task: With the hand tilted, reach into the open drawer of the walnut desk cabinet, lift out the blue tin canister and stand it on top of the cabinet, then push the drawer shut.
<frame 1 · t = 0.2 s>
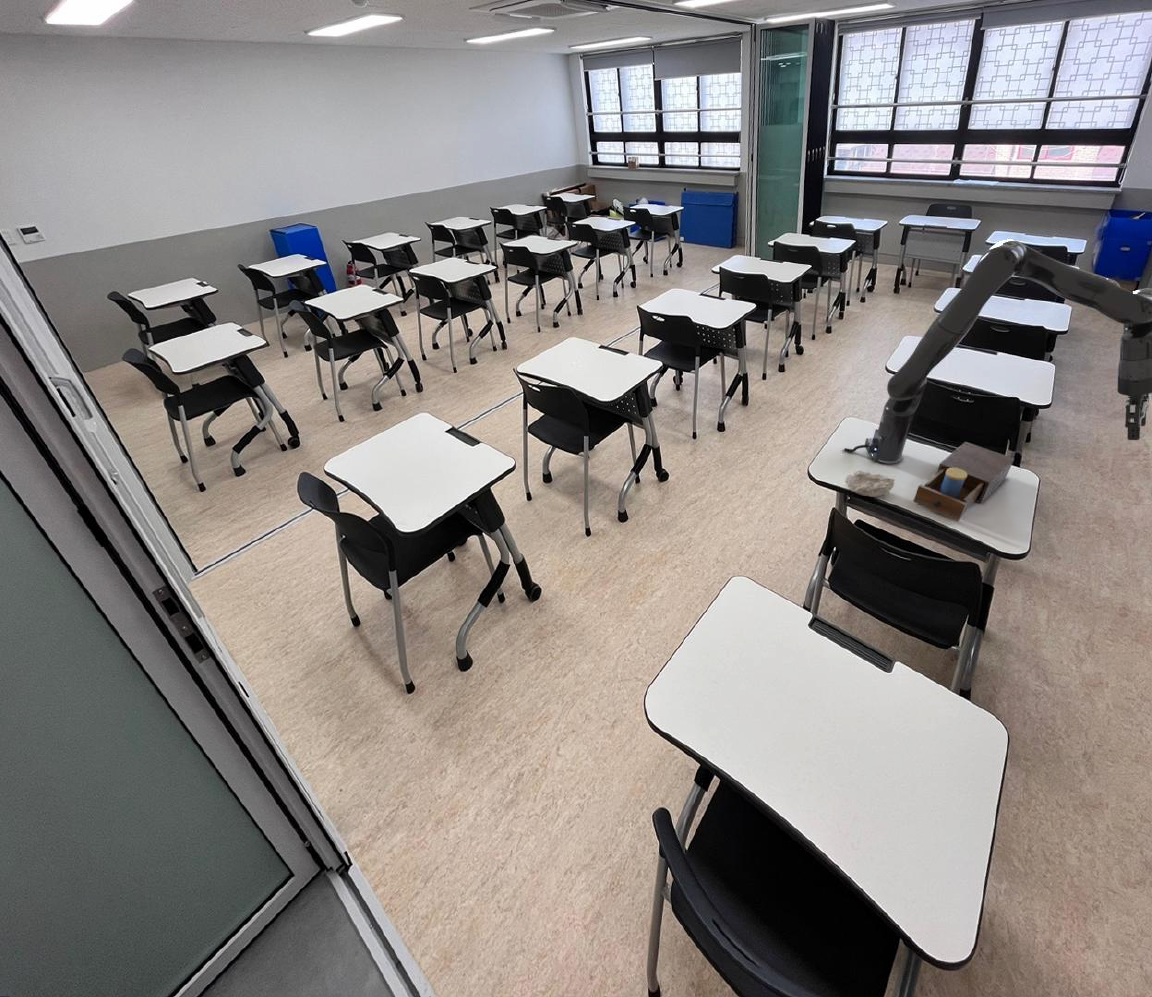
hand: (1136, 432, 148), 31 cm above the table, tool tilted 20°, fingers open, 8 cm apart
drawer: (950, 492, 177), point 4 cm above the table, slide at 13.0 cm, touching tin
tin: (946, 498, 178), point 2 cm above the table, touching drawer
cabinet: (968, 481, 186), on the table
stone: (865, 492, 187), on the table
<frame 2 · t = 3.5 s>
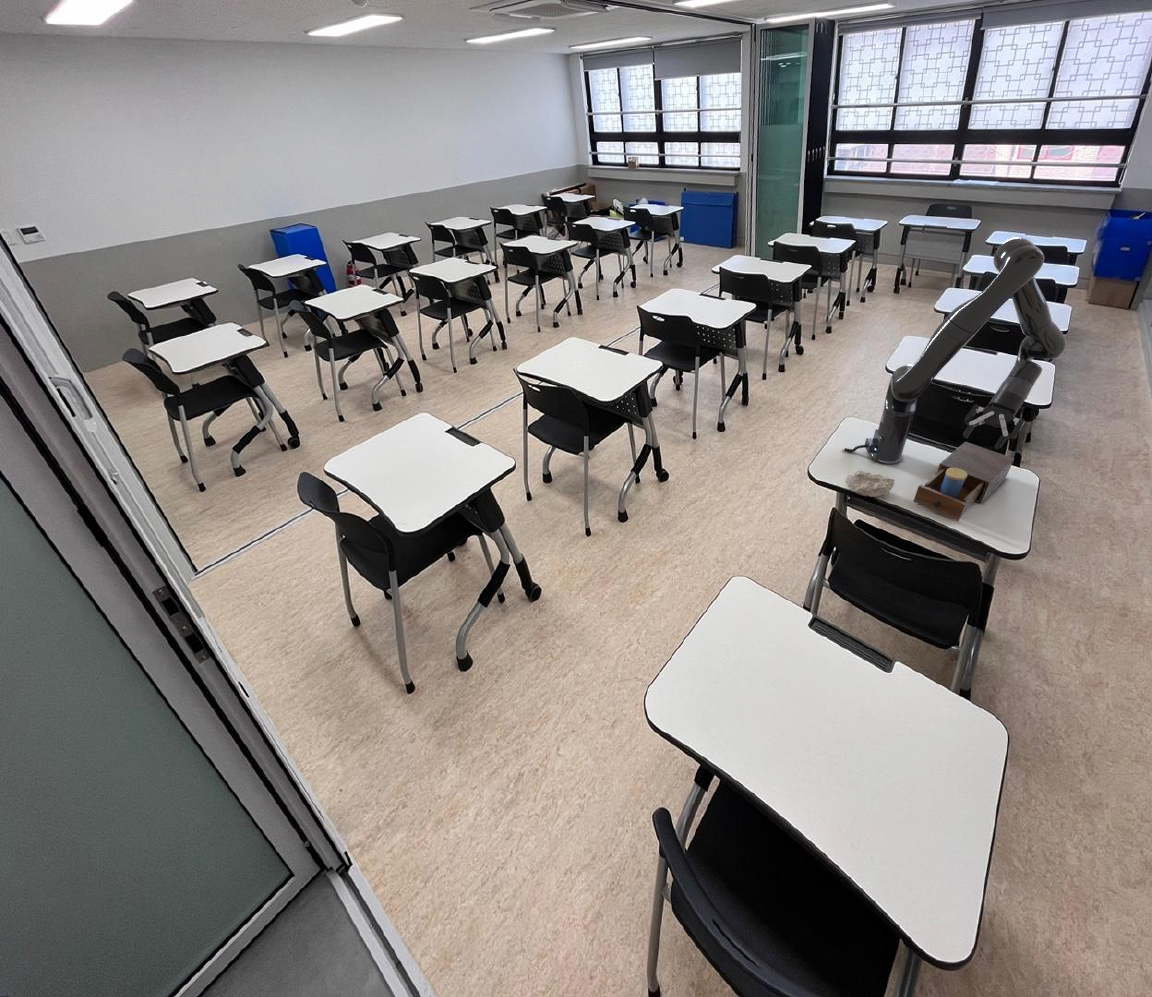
hand: (980, 442, 173), 17 cm above the table, tool tilted 45°, fingers open, 8 cm apart
nothing on the table moved.
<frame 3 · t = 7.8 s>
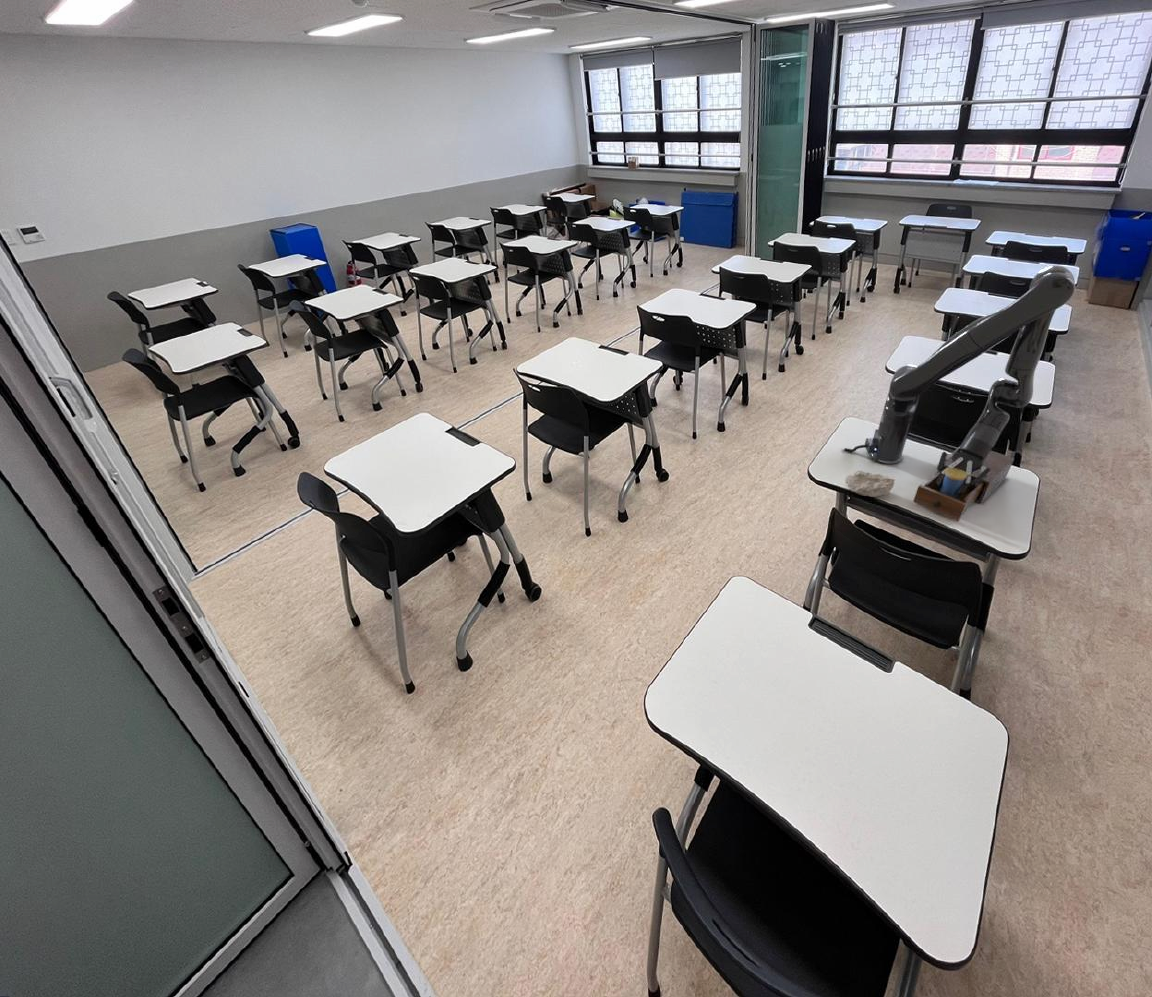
hand: (948, 490, 174), 6 cm above the table, tool tilted 45°, fingers closed on tin, 5 cm apart
tin: (946, 498, 178), point 2 cm above the table, touching drawer, gripper
everything else where it was.
when the fingers open (12 cm above the table, at t = 15.2 s): tin stays where it is, resting on cabinet.
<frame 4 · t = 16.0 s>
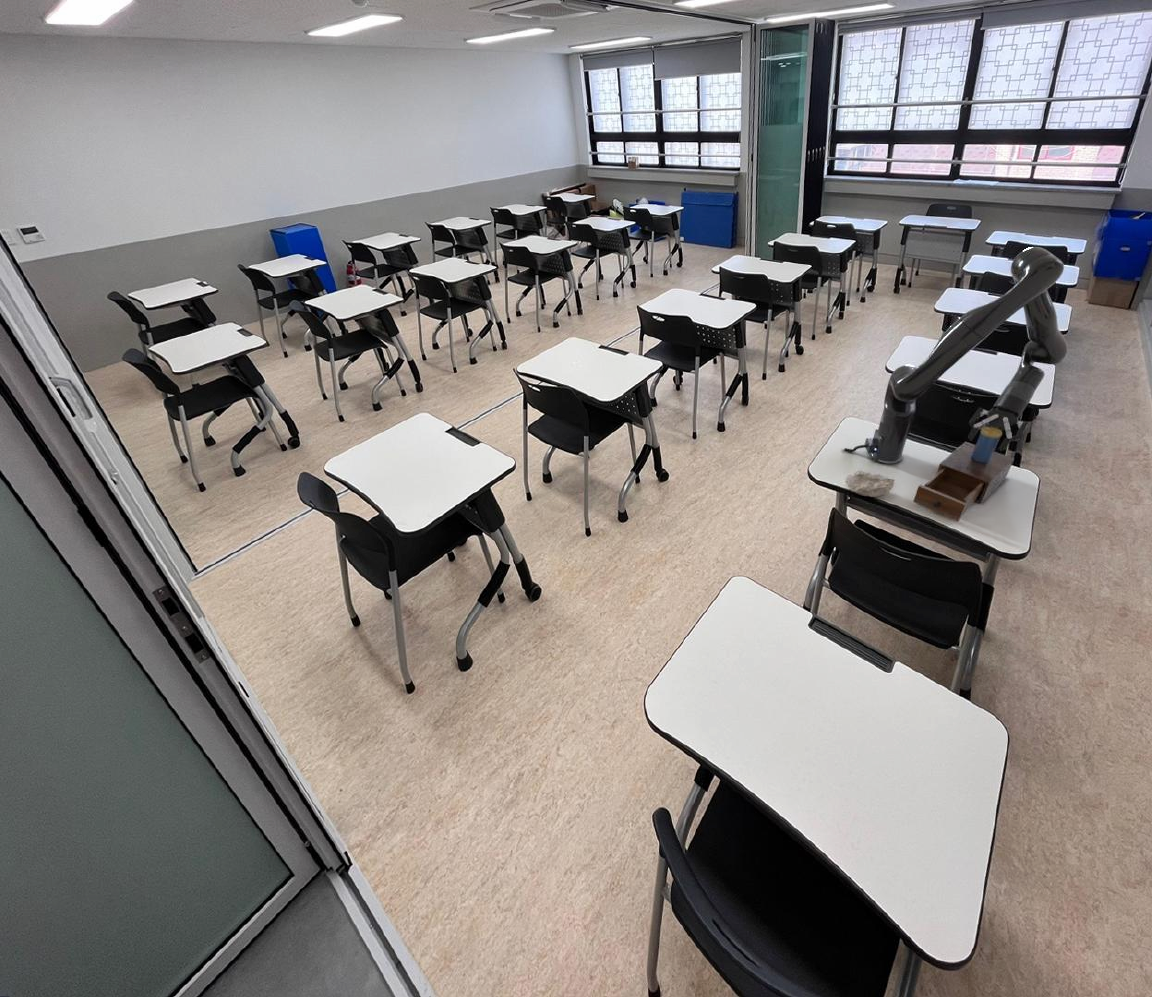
hand: (984, 444, 178), 14 cm above the table, tool tilted 45°, fingers open, 8 cm apart
drawer: (950, 492, 177), point 4 cm above the table, slide at 13.1 cm
tin: (980, 457, 182), point 8 cm above the table, touching cabinet
everything else where it was.
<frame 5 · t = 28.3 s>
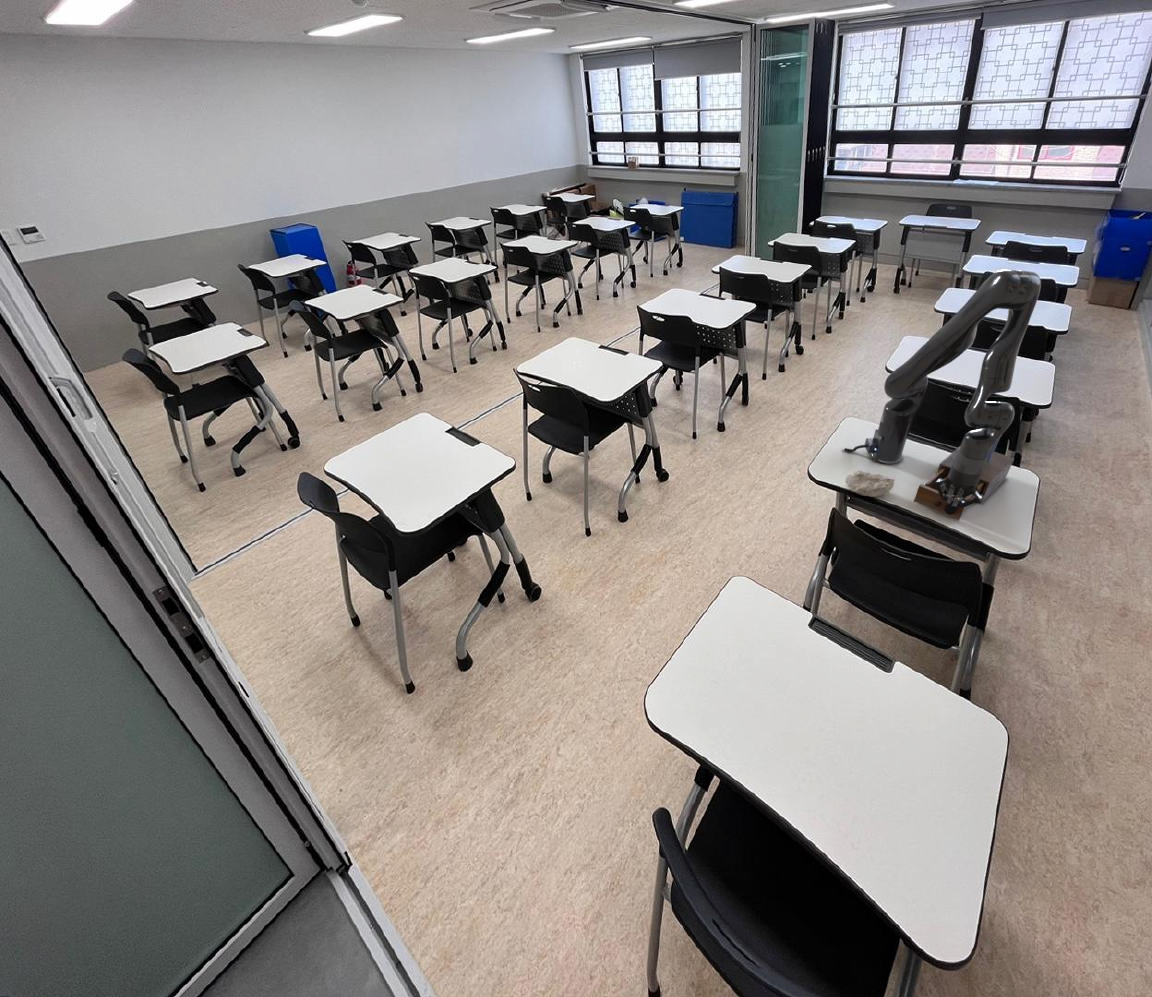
hand: (949, 513, 171), 3 cm above the table, tool pointing down, fingers closed
drawer: (950, 491, 177), point 4 cm above the table, slide at 12.7 cm, touching gripper
everything else where it was.
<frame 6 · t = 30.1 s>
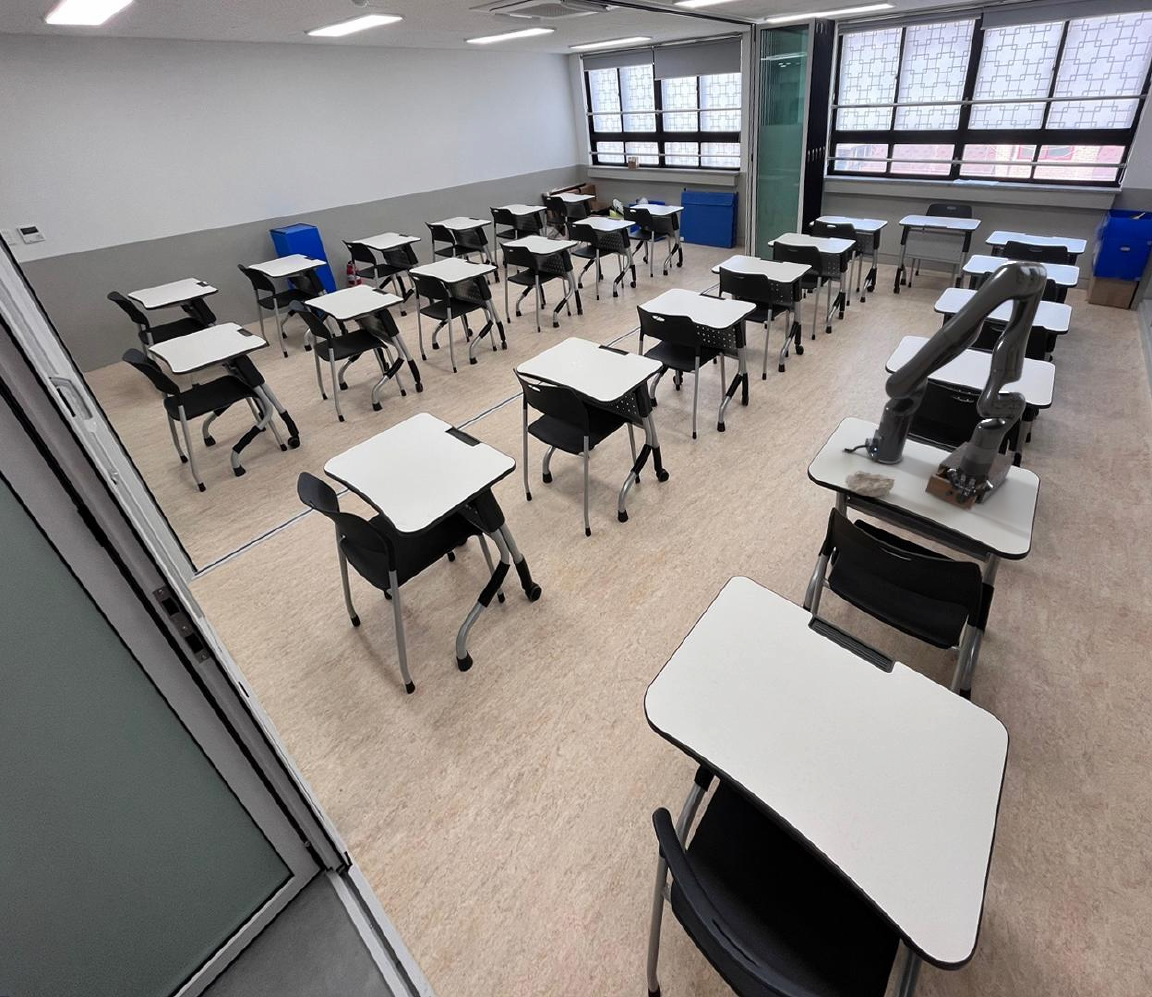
hand: (960, 502, 174), 3 cm above the table, tool pointing down, fingers closed
drawer: (961, 482, 180), point 4 cm above the table, slide at 5.6 cm, touching gripper
everything else where it was.
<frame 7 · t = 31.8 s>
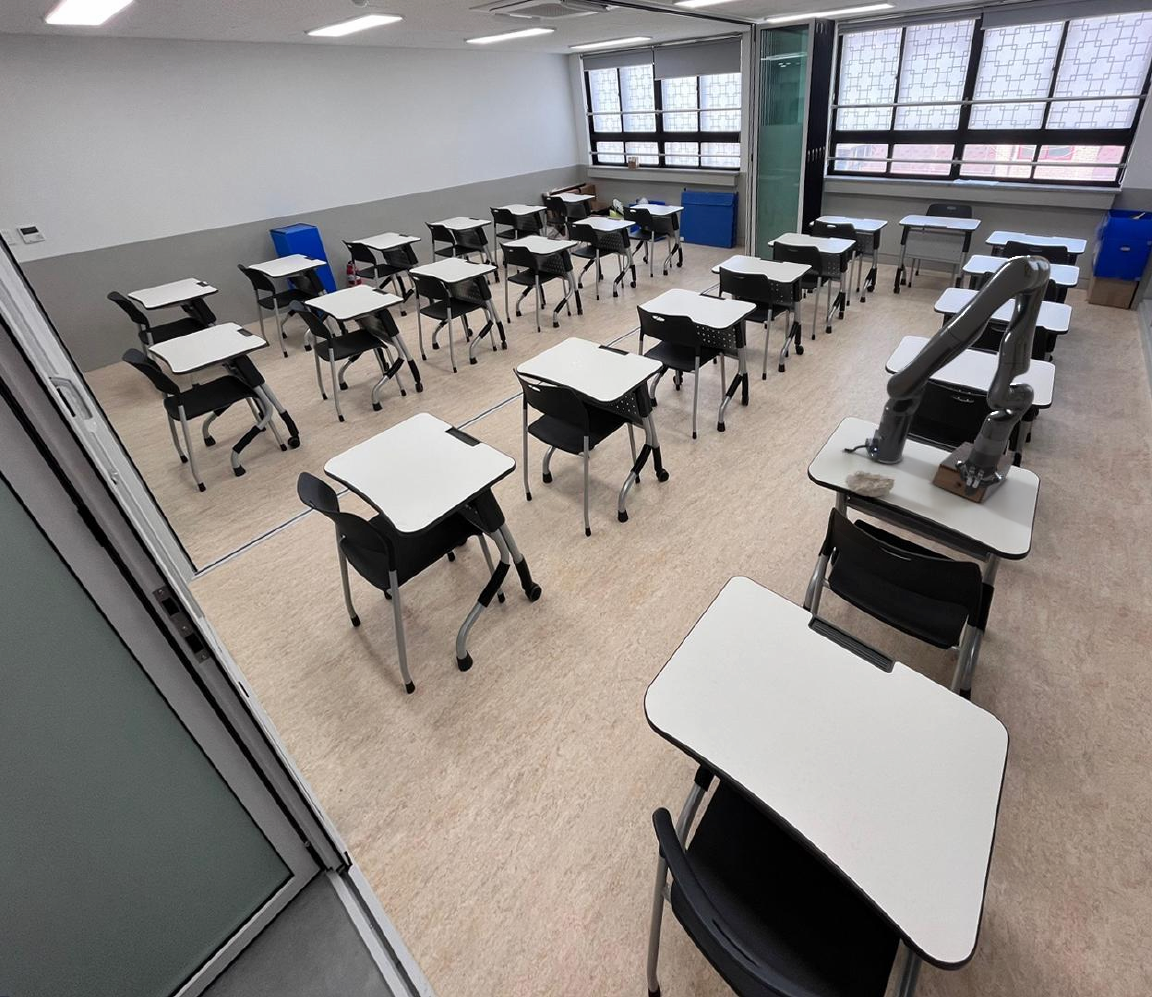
hand: (968, 494, 177), 3 cm above the table, tool pointing down, fingers closed
drawer: (969, 474, 183), point 4 cm above the table, slide at 0.0 cm, touching cabinet, gripper
everything else where it was.
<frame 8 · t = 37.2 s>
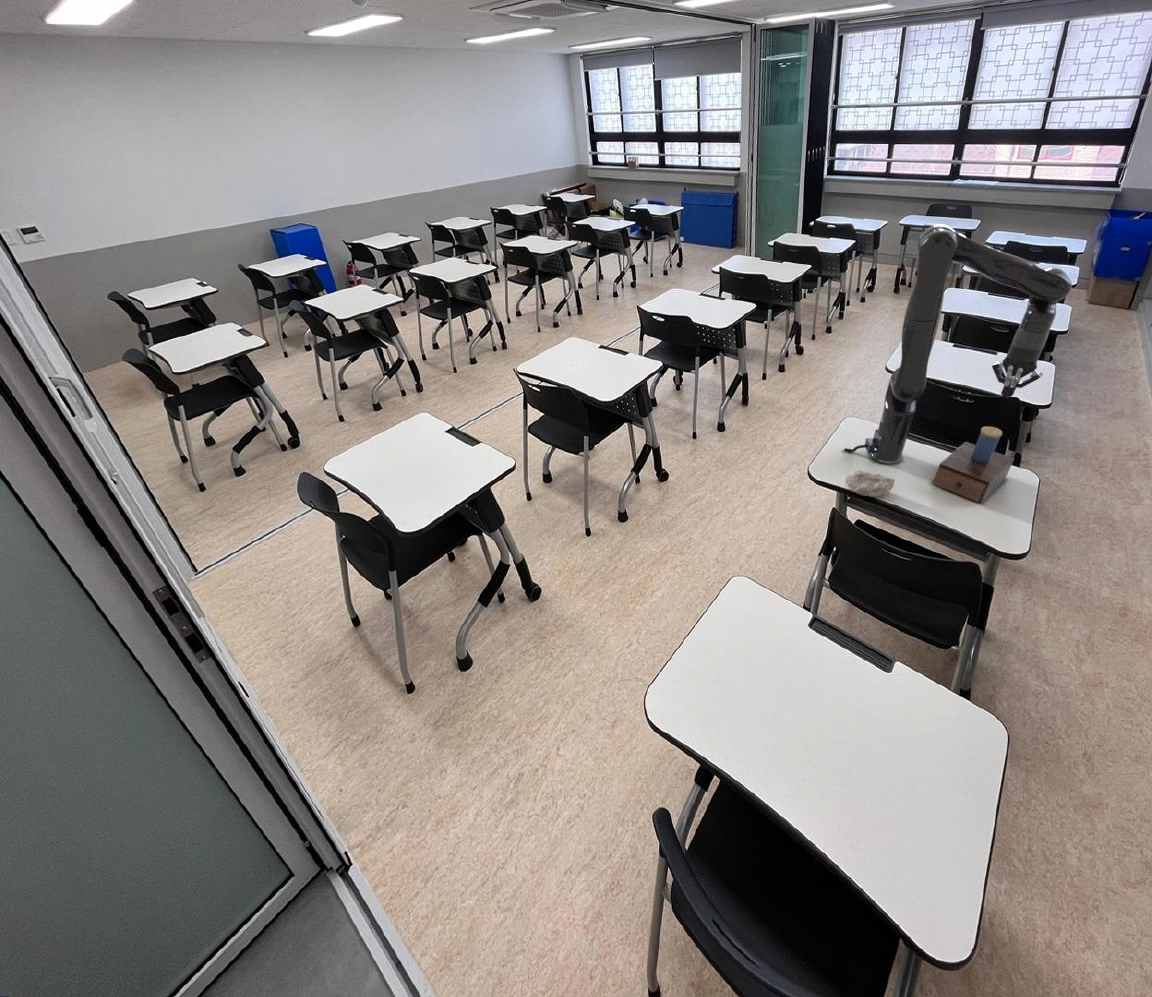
hand: (1005, 396, 174), 27 cm above the table, tool pointing down, fingers closed
drawer: (969, 474, 183), point 4 cm above the table, slide at 0.0 cm, touching cabinet
everything else where it was.
at the end: tin inside the target area on the cabinet (0.1 cm from its centre), point 8.1 cm above the cabinet's base; tin tilted 0°; drawer slide at 0.0 cm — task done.
